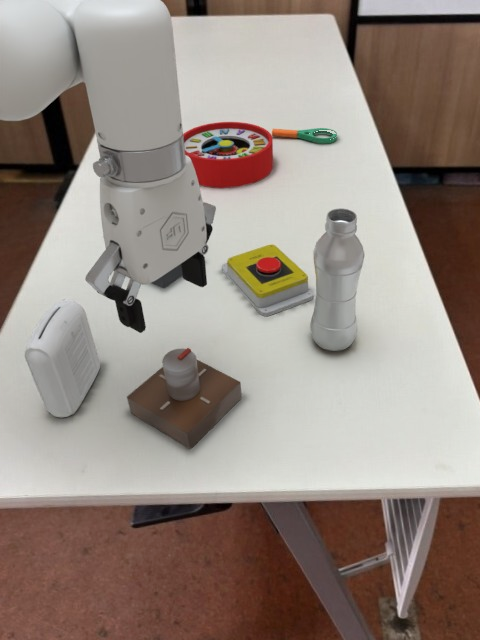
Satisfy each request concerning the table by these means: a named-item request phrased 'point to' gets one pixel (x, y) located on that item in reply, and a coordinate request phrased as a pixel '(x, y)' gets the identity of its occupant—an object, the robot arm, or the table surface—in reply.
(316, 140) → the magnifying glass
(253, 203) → the table surface
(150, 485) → the table surface
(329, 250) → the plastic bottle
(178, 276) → the button base
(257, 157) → the toy clock
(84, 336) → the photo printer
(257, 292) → the emergency button
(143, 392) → the dial panel
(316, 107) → the table surface
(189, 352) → the dial
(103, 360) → the table surface
